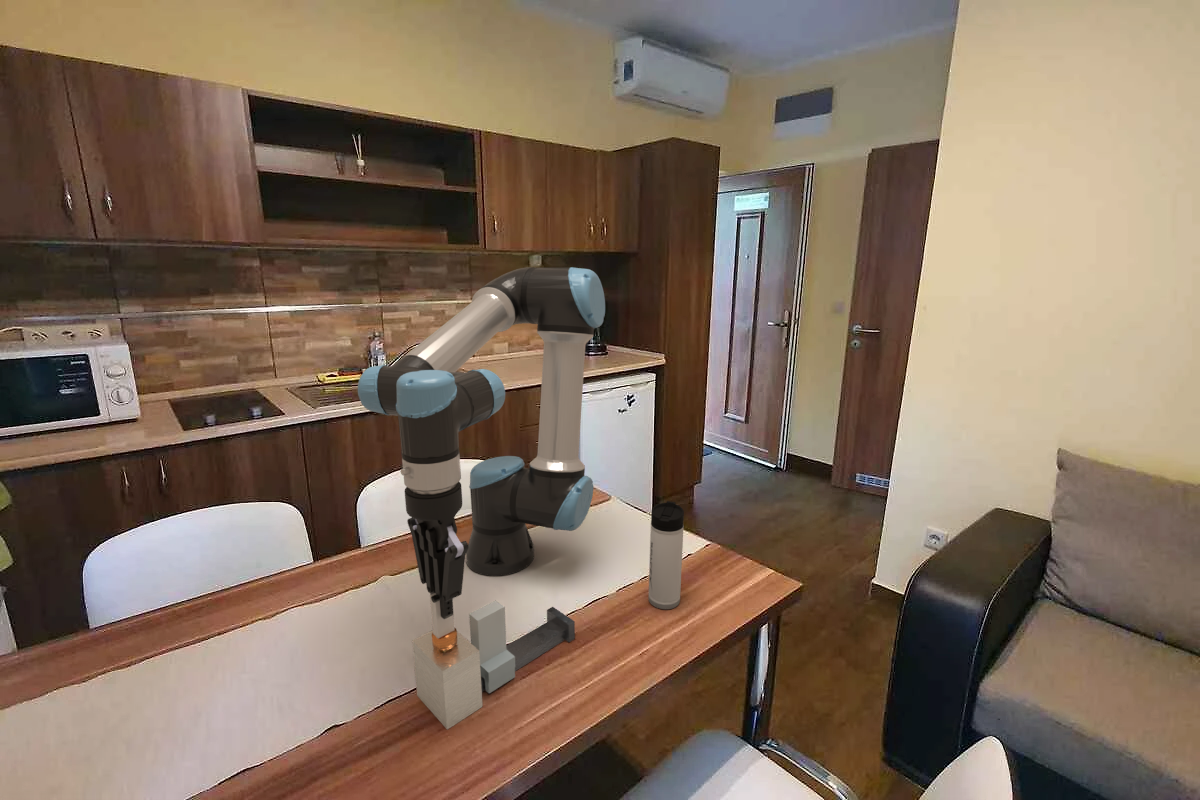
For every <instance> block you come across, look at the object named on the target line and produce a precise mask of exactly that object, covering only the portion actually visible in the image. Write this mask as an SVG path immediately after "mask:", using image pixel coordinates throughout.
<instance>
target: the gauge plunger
mask: <svg viewBox="0 0 1200 800" xmlns="http://www.w3.org/2000/svg"><path fill="white" fill-rule="evenodd" d="M454 629H455V630H454V631H452V632H450V633H448V634H446V635H444V636H442V637H440V638H439V639H438V638H437V637H436V636H435V635H434V634H433V632H432V645H433V647H434V648H435V649H436V650H440V652H441V653H444V652H446V651H448V650H449V649H451V648H452V647H454V646H455V645H456V644H457V631H458V630H457V628H456V627H455V626H454Z"/></svg>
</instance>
